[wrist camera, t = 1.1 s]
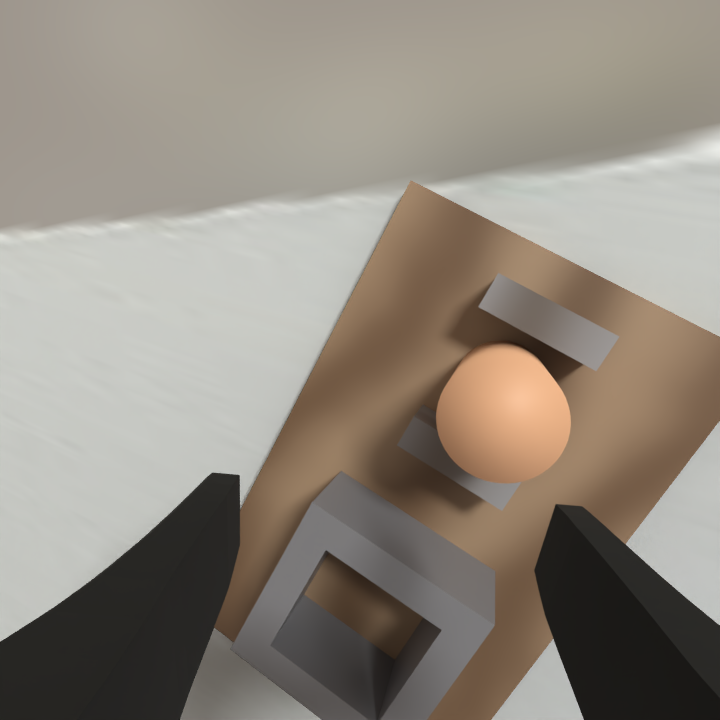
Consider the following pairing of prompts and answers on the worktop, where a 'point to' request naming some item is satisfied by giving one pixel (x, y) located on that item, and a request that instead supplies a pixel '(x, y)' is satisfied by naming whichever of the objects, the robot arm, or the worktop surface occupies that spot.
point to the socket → (344, 645)
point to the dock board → (422, 443)
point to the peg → (503, 414)
